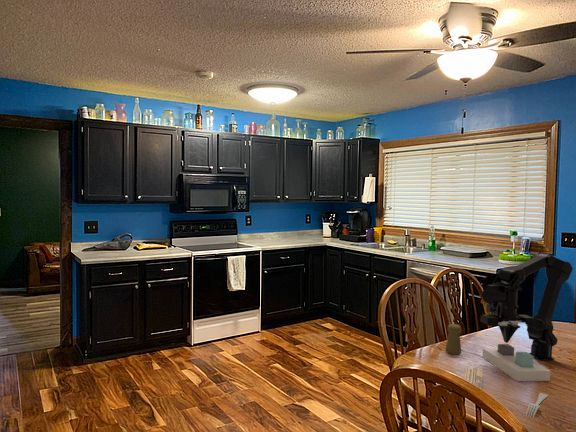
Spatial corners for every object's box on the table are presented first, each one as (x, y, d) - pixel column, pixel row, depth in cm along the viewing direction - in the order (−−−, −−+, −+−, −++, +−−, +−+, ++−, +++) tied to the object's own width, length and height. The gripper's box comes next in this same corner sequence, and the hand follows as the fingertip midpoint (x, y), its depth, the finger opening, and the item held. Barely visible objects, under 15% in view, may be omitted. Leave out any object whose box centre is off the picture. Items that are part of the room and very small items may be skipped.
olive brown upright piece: (462, 354, 174) (464, 327, 173) (446, 353, 175) (447, 326, 174) (459, 349, 180) (461, 323, 179) (444, 348, 181) (445, 321, 180)
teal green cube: (525, 362, 158) (526, 352, 158) (532, 367, 154) (533, 356, 154) (515, 363, 158) (515, 352, 158) (522, 367, 154) (522, 356, 154)
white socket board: (511, 356, 173) (511, 347, 173) (549, 380, 151) (550, 370, 151) (482, 356, 172) (482, 348, 172) (517, 381, 150) (517, 371, 150)
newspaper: (464, 370, 160) (464, 365, 160) (486, 374, 157) (486, 369, 157) (460, 397, 139) (461, 392, 138) (485, 402, 136) (485, 396, 135)
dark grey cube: (507, 354, 169) (508, 344, 169) (513, 358, 165) (514, 347, 165) (497, 354, 169) (498, 344, 169) (503, 358, 165) (504, 347, 165)
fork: (549, 403, 141) (549, 394, 141) (534, 420, 125) (535, 410, 125) (539, 400, 143) (539, 391, 143) (523, 416, 127) (524, 407, 127)
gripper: (518, 296, 175) (516, 335, 176) (473, 296, 173) (471, 335, 174) (537, 304, 164) (534, 345, 165) (489, 303, 162) (487, 345, 163)
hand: (506, 342), depth 167 cm, fingers closed
